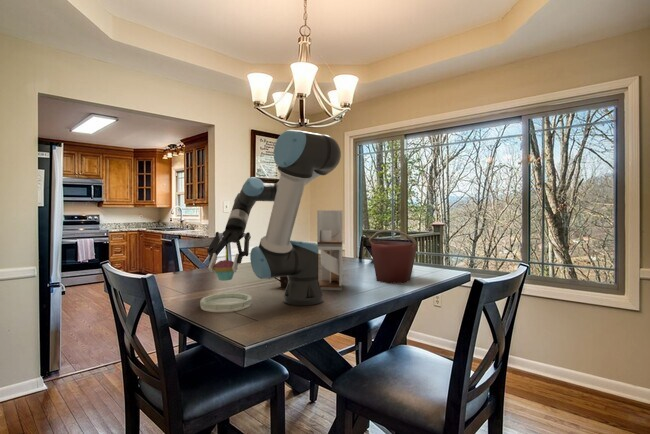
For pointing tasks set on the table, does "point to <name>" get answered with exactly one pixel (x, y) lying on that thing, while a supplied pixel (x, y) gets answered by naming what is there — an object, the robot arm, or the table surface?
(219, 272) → the cupcake
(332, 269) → the display case
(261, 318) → the table surface
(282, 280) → the coffee mug
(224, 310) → the rimmed plate
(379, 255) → the bucket
